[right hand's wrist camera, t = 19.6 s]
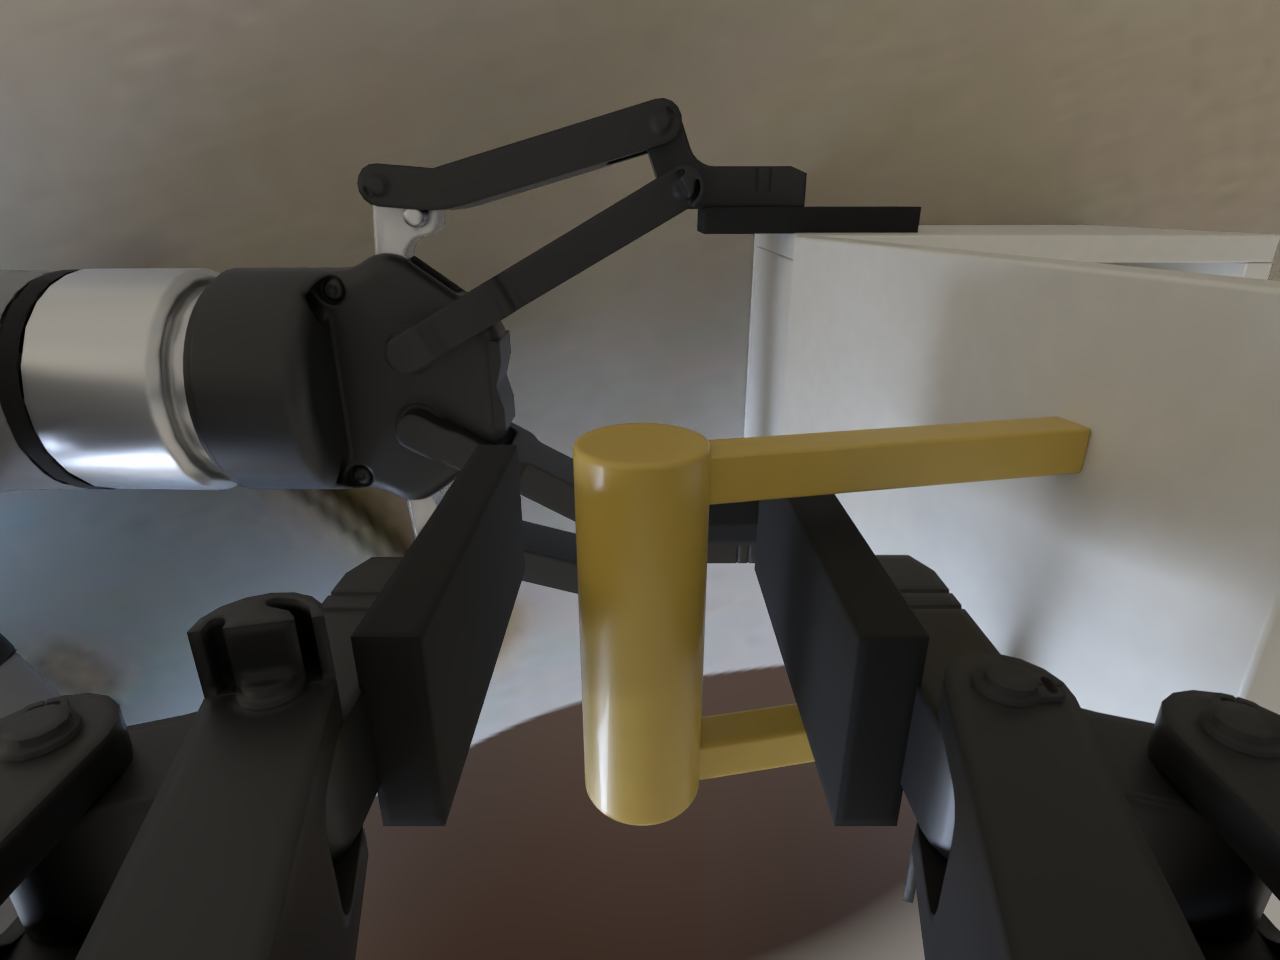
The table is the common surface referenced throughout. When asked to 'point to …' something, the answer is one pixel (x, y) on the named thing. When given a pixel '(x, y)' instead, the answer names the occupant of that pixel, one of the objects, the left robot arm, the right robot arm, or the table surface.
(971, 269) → the lid
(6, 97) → the table surface
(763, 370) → the chest
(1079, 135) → the table surface
